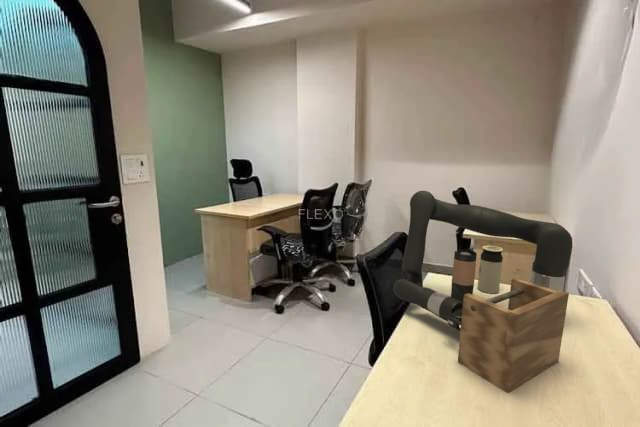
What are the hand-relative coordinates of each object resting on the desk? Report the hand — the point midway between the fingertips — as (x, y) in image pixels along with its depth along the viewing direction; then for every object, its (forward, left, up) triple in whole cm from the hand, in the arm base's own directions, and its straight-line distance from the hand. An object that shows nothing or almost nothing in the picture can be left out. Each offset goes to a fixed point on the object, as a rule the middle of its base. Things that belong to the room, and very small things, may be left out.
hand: (494, 330), depth 96 cm
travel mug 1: (-16, -28, -7) cm, 33 cm away
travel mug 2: (-36, -34, -7) cm, 50 cm away
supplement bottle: (-1, +4, -7) cm, 8 cm away
